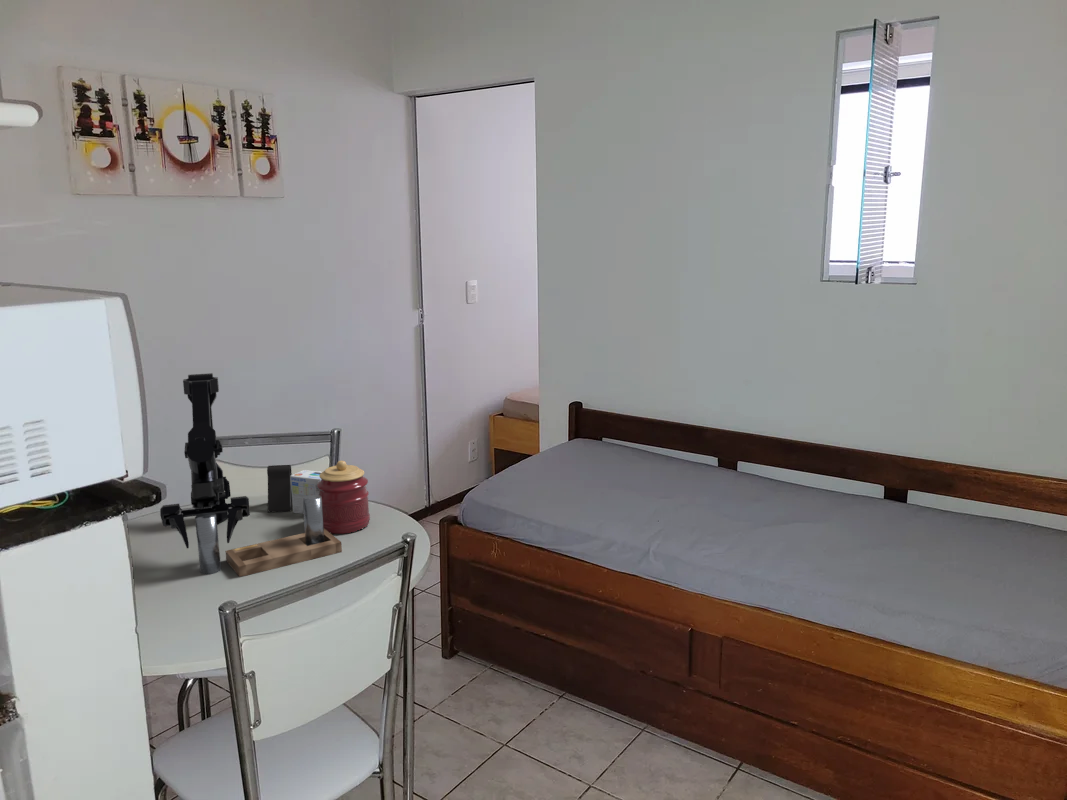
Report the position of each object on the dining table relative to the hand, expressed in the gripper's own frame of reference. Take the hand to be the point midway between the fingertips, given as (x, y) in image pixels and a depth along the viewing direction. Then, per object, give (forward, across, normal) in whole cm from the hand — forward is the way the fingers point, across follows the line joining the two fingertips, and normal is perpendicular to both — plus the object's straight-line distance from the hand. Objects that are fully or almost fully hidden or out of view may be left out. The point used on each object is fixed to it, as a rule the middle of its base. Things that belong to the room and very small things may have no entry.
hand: (208, 545), depth 178 cm
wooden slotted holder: (+2, +16, +7) cm, 18 cm away
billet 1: (+4, 0, +6) cm, 7 cm away
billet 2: (+1, +24, +9) cm, 25 cm away
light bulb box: (-18, +26, +28) cm, 43 cm away
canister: (-8, +32, +18) cm, 38 cm away
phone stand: (-23, +18, +33) cm, 44 cm away
